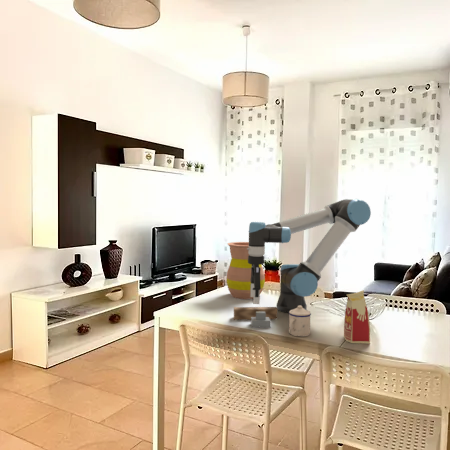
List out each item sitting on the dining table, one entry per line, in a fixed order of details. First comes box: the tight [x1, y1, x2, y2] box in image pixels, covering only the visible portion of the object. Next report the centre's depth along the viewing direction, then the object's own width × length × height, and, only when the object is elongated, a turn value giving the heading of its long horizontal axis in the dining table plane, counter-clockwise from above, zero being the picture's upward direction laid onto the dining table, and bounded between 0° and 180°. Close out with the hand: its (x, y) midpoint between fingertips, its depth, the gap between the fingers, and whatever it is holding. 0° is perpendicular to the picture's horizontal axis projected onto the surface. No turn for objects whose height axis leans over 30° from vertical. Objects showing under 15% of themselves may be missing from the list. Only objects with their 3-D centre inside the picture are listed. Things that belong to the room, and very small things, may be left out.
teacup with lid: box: [288, 305, 312, 337], centre depth 178 cm, size 12×9×12 cm
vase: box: [226, 241, 266, 300], centre depth 247 cm, size 22×22×30 cm
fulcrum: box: [250, 311, 272, 329], centre depth 190 cm, size 8×6×6 cm
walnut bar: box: [233, 306, 279, 321], centre depth 202 cm, size 20×4×5 cm, turn 94°
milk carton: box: [343, 289, 371, 344], centre depth 172 cm, size 9×9×20 cm
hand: (254, 300), depth 202 cm, fingers open, 13 cm apart
